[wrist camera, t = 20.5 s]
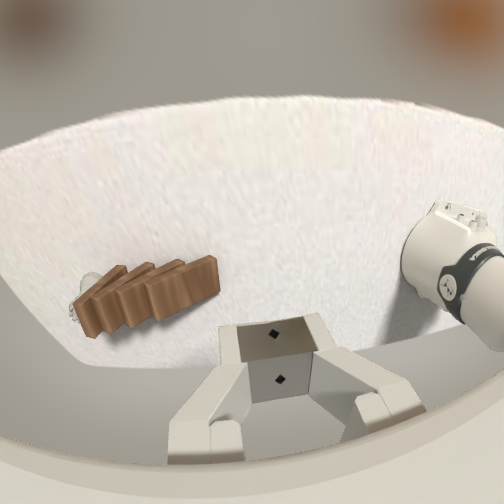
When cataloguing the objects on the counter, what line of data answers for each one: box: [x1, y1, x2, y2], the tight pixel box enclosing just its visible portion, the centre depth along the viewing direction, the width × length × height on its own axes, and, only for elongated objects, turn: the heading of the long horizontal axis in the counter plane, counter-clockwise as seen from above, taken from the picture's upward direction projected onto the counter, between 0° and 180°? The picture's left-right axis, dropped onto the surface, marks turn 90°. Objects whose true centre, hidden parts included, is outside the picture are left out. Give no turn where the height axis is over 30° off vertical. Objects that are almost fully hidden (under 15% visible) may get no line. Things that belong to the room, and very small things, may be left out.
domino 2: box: [90, 262, 155, 334], centre depth 35 cm, size 2×5×10 cm
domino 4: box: [142, 255, 221, 322], centre depth 37 cm, size 2×5×10 cm
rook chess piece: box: [69, 272, 102, 323], centre depth 35 cm, size 4×4×8 cm
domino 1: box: [72, 265, 127, 339], centre depth 34 cm, size 2×5×10 cm, turn 4°
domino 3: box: [114, 259, 185, 328], centre depth 36 cm, size 2×5×10 cm
